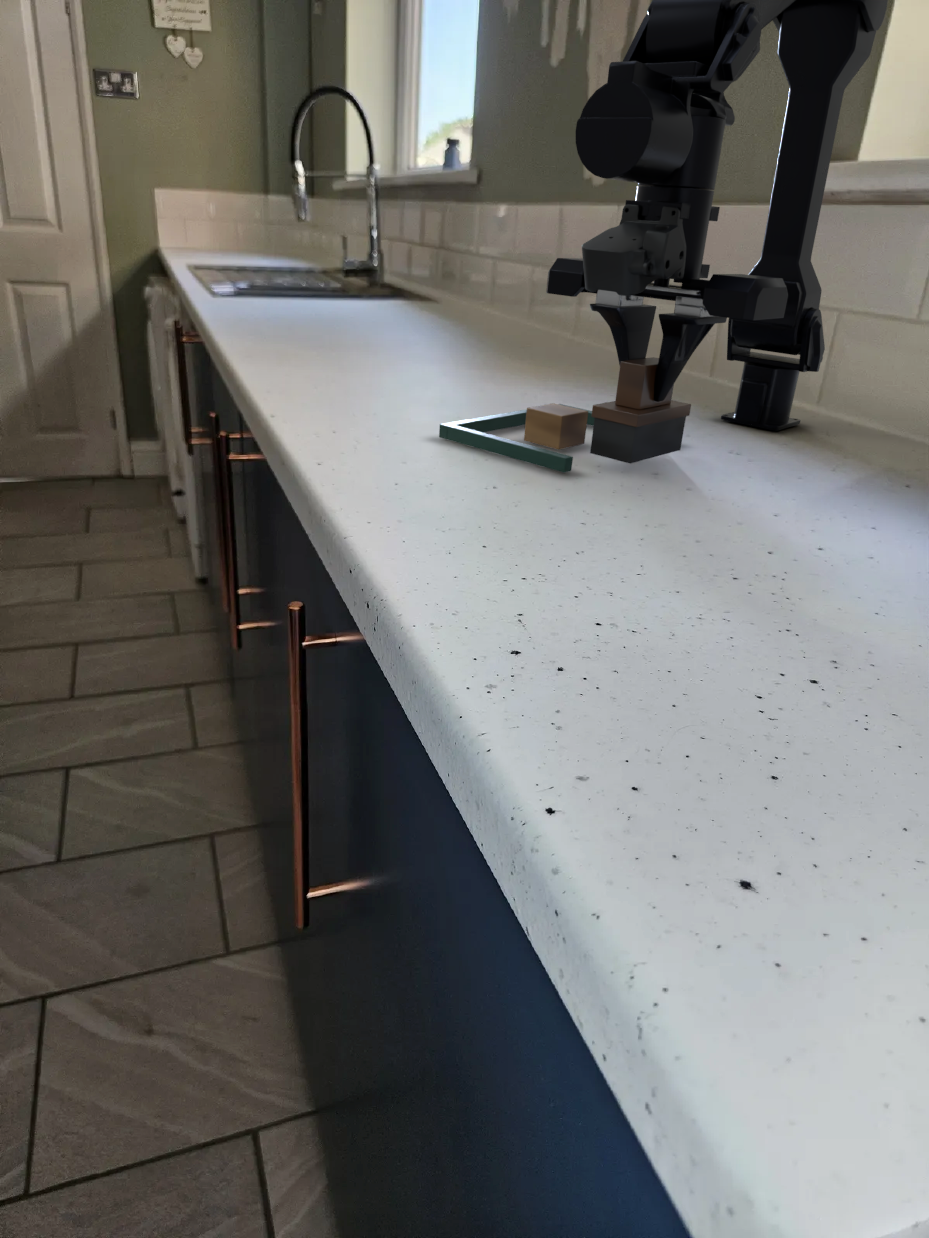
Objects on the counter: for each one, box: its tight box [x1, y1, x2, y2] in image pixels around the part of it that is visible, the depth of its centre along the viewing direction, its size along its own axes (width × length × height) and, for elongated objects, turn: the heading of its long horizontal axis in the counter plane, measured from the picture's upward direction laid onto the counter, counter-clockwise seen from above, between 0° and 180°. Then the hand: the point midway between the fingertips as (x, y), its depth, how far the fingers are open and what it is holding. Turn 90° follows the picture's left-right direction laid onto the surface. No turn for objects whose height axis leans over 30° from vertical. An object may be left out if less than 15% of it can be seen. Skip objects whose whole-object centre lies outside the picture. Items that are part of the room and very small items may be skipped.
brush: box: [589, 356, 692, 465], centre depth 72 cm, size 8×4×8 cm, turn 137°
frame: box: [438, 403, 594, 474], centre depth 80 cm, size 18×14×1 cm
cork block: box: [523, 402, 588, 451], centre depth 79 cm, size 4×4×3 cm
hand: (644, 398), depth 72 cm, fingers closed on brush, 2 cm apart
